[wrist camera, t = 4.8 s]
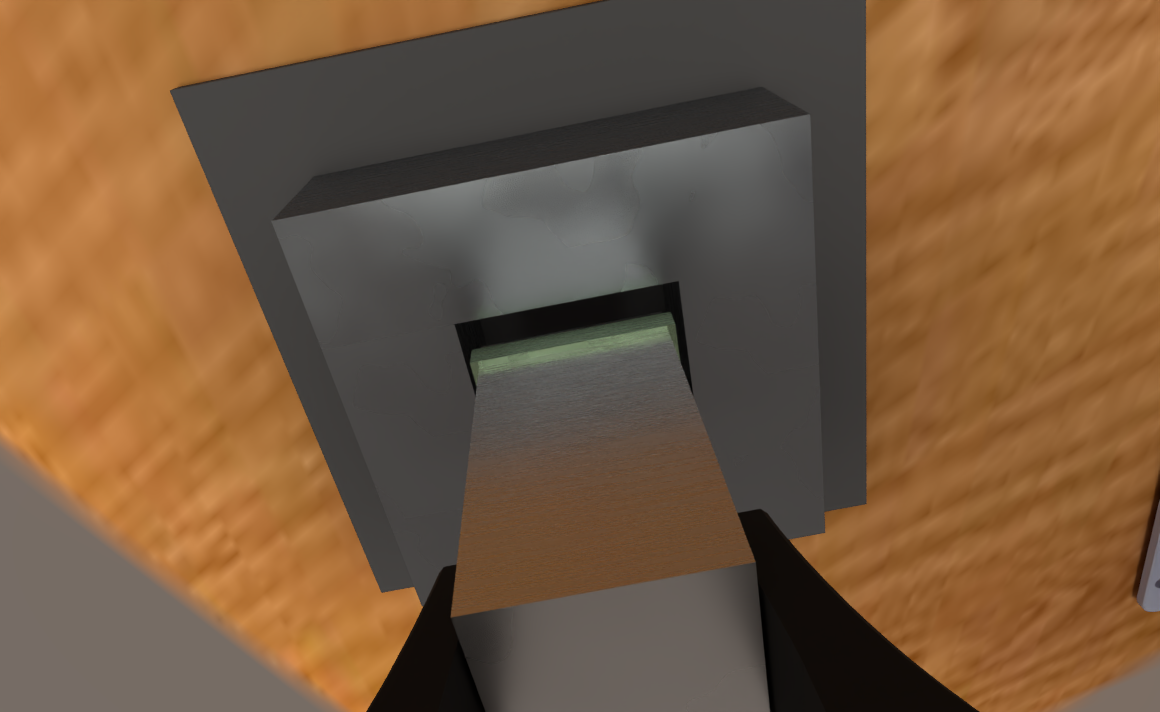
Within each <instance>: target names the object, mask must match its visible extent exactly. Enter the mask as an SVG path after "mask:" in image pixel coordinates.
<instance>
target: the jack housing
mask: <svg viewBox="0 0 1160 712" xmlns="http://www.w3.org/2000/svg"><path fill="white" fill-rule="evenodd" d="M271 222H272V224H273V227H274V229H275V232H276V235H277V237H278V240H279V242H280V245H281V247H282V250H283V252H284V255H285V258H286V260H287V263H288V265H289V268H290V270H291V273H292V275H293V278H294V281H295V283H296V286H297V288H298V291H299V293H300V296H301V298H302V301H303V303H304V306H305V309H306V311H307V314H308V316H309V319H310V321H311V324H312V326H313V329H314V332H315V334H316V337H317V339H318V342H319V344H320V347H321V349H322V352H323V355H324V357H325V360H326V362H327V365H328V367H329V370H330V372H331V375H332V378H333V380H334V383H335V385H336V388H337V390H338V393H339V395H340V398H341V401H342V403H343V406H344V408H345V411H346V413H347V416H348V418H349V421H350V424H351V426H352V429H353V431H354V434H355V436H356V439H357V441H358V444H359V446H360V449H361V452H362V454H363V457H364V459H365V462H366V464H367V467H368V469H369V472H370V475H371V477H372V480H373V482H374V485H375V487H376V490H377V492H378V495H379V498H380V500H381V503H382V505H383V508H384V510H385V513H386V515H387V518H388V521H389V523H390V526H391V528H392V531H393V533H394V536H395V538H396V541H397V544H398V546H399V549H400V551H401V554H402V556H403V559H404V561H405V564H406V566H407V569H408V572H409V574H410V577H411V579H412V582H413V584H414V587H415V589H416V592H417V595H418V597H419V600H420V602H421V605H422V606H424V604H425V602H426V600H427V598H428V596H429V594H430V592H431V589H432V587H433V585H434V583H435V581H436V579H437V576H438V574H439V572H440V571H441V570H442V569H443V567H445V566H450V565H456V564H457V557H458V548H459V539H460V530H461V522H462V513H463V504H464V495H465V486H466V477H467V468H468V460H469V451H470V442H471V433H472V424H473V415H474V406H475V398H476V389H477V386H476V382H475V379H474V375H473V372H472V369H471V365H470V359H471V352H472V350H474V349H479V348H481V346H484V345H487V343H486V340H485V336H484V332H483V329H482V325H481V321H480V319H483V318H489V317H494V316H499V315H504V314H509V313H515V312H520V311H525V310H530V309H535V308H540V307H546V306H551V305H556V304H561V303H566V302H572V301H577V300H582V299H587V298H592V297H597V296H603V295H608V294H613V293H618V292H623V291H628V290H634V289H639V288H644V287H649V286H654V285H660V284H662V285H663V292H664V299H665V307H666V312H671V315H672V317H673V320H674V322H675V327H676V334H677V341H678V349H679V356H680V363H681V365H682V368H683V371H684V373H685V376H686V379H687V381H688V384H689V387H690V389H691V392H692V395H693V397H694V400H695V402H696V405H697V408H698V410H699V413H700V416H701V418H702V421H703V424H704V426H705V429H706V432H707V434H708V437H709V440H710V442H711V445H712V448H713V450H714V453H715V456H716V458H717V461H718V463H719V466H720V469H721V471H722V474H723V477H724V479H725V482H726V485H727V487H728V490H729V493H730V495H731V498H732V501H733V503H734V506H735V509H736V511H737V513H740V512H745V511H750V510H756V509H762V510H763V511H765V512H767V513H768V514H769V516H770V517H771V518H772V520H773V521H774V522H775V524H776V525H777V526H778V527H779V529H780V530H781V531H782V532H783V534H784V535H785V536H786V537H787V539H793V538H799V537H804V536H810V535H815V534H821V533H825V517H824V489H823V461H822V433H821V405H820V376H819V348H818V320H817V292H816V264H815V236H814V207H813V179H812V151H811V123H810V114H809V113H808V112H806V111H804V110H802V109H800V108H799V107H797V106H795V105H793V104H792V103H790V102H788V101H786V100H785V99H783V98H781V97H779V96H778V95H776V94H774V93H772V92H771V91H769V90H767V89H765V88H764V87H757V88H752V89H747V90H742V91H737V92H732V93H727V94H722V95H717V96H712V97H707V98H702V99H697V100H692V101H687V102H682V103H677V104H672V105H667V106H662V107H657V108H652V109H647V110H642V111H637V112H632V113H627V114H622V115H617V116H612V117H607V118H602V119H597V120H592V121H587V122H582V123H577V124H572V125H567V126H562V127H557V128H552V129H547V130H542V131H537V132H532V133H527V134H522V135H517V136H512V137H507V138H502V139H497V140H492V141H487V142H482V143H477V144H472V145H467V146H462V147H457V148H452V149H447V150H442V151H437V152H432V153H427V154H422V155H417V156H412V157H407V158H402V159H397V160H392V161H387V162H382V163H377V164H372V165H367V166H362V167H357V168H352V169H347V170H342V171H337V172H332V173H327V174H322V175H317V176H313V178H312V179H311V180H310V181H309V182H308V183H307V184H306V185H305V186H304V187H303V188H302V189H301V190H300V191H299V192H298V193H297V194H296V196H295V197H294V198H293V199H292V200H291V201H290V202H289V203H288V204H287V205H286V206H285V207H284V208H283V209H282V210H281V211H280V212H279V213H278V215H277V216H276V217H275V218H274V219H273V220H272V221H271Z"/></svg>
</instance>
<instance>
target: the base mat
mask: <svg viewBox="0 0 1160 712" xmlns="http://www.w3.org/2000/svg"><path fill="white" fill-rule="evenodd" d="M757 87H764V88H765V89H767V90H769V91H771V92H772V93H774V94H776V95H778V96H779V97H781V98H783V99H785V100H786V101H788V102H790V103H792V104H793V105H795V106H797V107H799V108H800V109H802V110H804V111H806V112H808V113H809V114H810V123H811V151H812V179H813V207H814V236H815V264H816V292H817V320H818V348H819V376H820V405H821V433H822V461H823V489H824V512H825V511H831V510H836V509H842V508H847V507H852V506H858V505H863V504H866V0H602V1H597V2H592V3H587V4H582V5H578V6H573V7H568V8H563V9H558V10H553V11H548V12H543V13H539V14H534V15H529V16H524V17H519V18H514V19H509V20H504V21H499V22H495V23H490V24H485V25H480V26H475V27H470V28H465V29H460V30H456V31H451V32H446V33H441V34H436V35H431V36H426V37H421V38H416V39H412V40H407V41H402V42H397V43H392V44H387V45H382V46H377V47H373V48H368V49H363V50H358V51H353V52H348V53H343V54H338V55H333V56H329V57H324V58H319V59H314V60H309V61H304V62H299V63H294V64H290V65H285V66H280V67H275V68H270V69H265V70H260V71H255V72H250V73H246V74H241V75H236V76H231V77H226V78H221V79H216V80H211V81H207V82H202V83H197V84H192V85H187V86H182V87H178V88H175V89H173V90H170V93H171V95H172V97H173V100H174V102H175V104H176V107H177V109H178V111H179V114H180V116H181V119H182V121H183V123H184V126H185V128H186V130H187V133H188V135H189V138H190V140H191V142H192V145H193V147H194V149H195V152H196V154H197V156H198V159H199V161H200V164H201V166H202V168H203V171H204V173H205V175H206V178H207V180H208V183H209V185H210V187H211V190H212V192H213V194H214V197H215V199H216V202H217V204H218V206H219V209H220V211H221V213H222V216H223V218H224V220H225V223H226V225H227V228H228V230H229V232H230V235H231V237H232V239H233V242H234V244H235V247H236V249H237V251H238V254H239V256H240V258H241V261H242V263H243V265H244V268H245V270H246V273H247V275H248V277H249V280H250V282H251V284H252V287H253V289H254V292H255V294H256V296H257V299H258V301H259V303H260V306H261V308H262V310H263V313H264V315H265V318H266V320H267V322H268V325H269V327H270V329H271V332H272V334H273V337H274V339H275V341H276V344H277V346H278V348H279V351H280V353H281V355H282V358H283V360H284V363H285V365H286V367H287V370H288V372H289V374H290V377H291V379H292V382H293V384H294V386H295V389H296V391H297V393H298V396H299V398H300V401H301V403H302V405H303V408H304V410H305V412H306V415H307V417H308V419H309V422H310V424H311V427H312V429H313V431H314V434H315V436H316V438H317V441H318V443H319V446H320V448H321V450H322V453H323V455H324V457H325V460H326V462H327V464H328V467H329V469H330V472H331V474H332V476H333V479H334V481H335V483H336V486H337V488H338V491H339V493H340V495H341V498H342V500H343V502H344V505H345V507H346V509H347V512H348V514H349V517H350V519H351V521H352V524H353V526H354V528H355V531H356V533H357V536H358V538H359V540H360V543H361V545H362V547H363V550H364V552H365V554H366V557H367V559H368V562H369V564H370V566H371V569H372V571H373V573H374V576H375V578H376V581H377V583H378V585H379V588H380V590H381V592H382V593H383V592H388V591H393V590H399V589H404V588H410V587H414V584H413V582H412V579H411V577H410V574H409V572H408V569H407V566H406V564H405V561H404V559H403V556H402V554H401V551H400V549H399V546H398V544H397V541H396V538H395V536H394V533H393V531H392V528H391V526H390V523H389V521H388V518H387V515H386V513H385V510H384V508H383V505H382V503H381V500H380V498H379V495H378V492H377V490H376V487H375V485H374V482H373V480H372V477H371V475H370V472H369V469H368V467H367V464H366V462H365V459H364V457H363V454H362V452H361V449H360V446H359V444H358V441H357V439H356V436H355V434H354V431H353V429H352V426H351V424H350V421H349V418H348V416H347V413H346V411H345V408H344V406H343V403H342V401H341V398H340V395H339V393H338V390H337V388H336V385H335V383H334V380H333V378H332V375H331V372H330V370H329V367H328V365H327V362H326V360H325V357H324V355H323V352H322V349H321V347H320V344H319V342H318V339H317V337H316V334H315V332H314V329H313V326H312V324H311V321H310V319H309V316H308V314H307V311H306V309H305V306H304V303H303V301H302V298H301V296H300V293H299V291H298V288H297V286H296V283H295V281H294V278H293V275H292V273H291V270H290V268H289V265H288V263H287V260H286V258H285V255H284V252H283V250H282V247H281V245H280V242H279V240H278V237H277V235H276V232H275V229H274V227H273V224H272V222H271V221H272V220H273V219H274V218H275V217H276V216H277V215H278V213H279V212H280V211H281V210H282V209H283V208H284V207H285V206H286V205H287V204H288V203H289V202H290V201H291V200H292V199H293V198H294V197H295V196H296V194H297V193H298V192H299V191H300V190H301V189H302V188H303V187H304V186H305V185H306V184H307V183H308V182H309V181H310V180H311V179H312V178H313V176H317V175H322V174H327V173H332V172H337V171H342V170H347V169H352V168H357V167H362V166H367V165H372V164H377V163H382V162H387V161H392V160H397V159H402V158H407V157H412V156H417V155H422V154H427V153H432V152H437V151H442V150H447V149H452V148H457V147H462V146H467V145H472V144H477V143H482V142H487V141H492V140H497V139H502V138H507V137H512V136H517V135H522V134H527V133H532V132H537V131H542V130H547V129H552V128H557V127H562V126H567V125H572V124H577V123H582V122H587V121H592V120H597V119H602V118H607V117H612V116H617V115H622V114H627V113H632V112H637V111H642V110H647V109H652V108H657V107H662V106H667V105H672V104H677V103H682V102H687V101H692V100H697V99H702V98H707V97H712V96H717V95H722V94H727V93H732V92H737V91H742V90H747V89H752V88H757ZM656 312H662V313H666V307H665V299H664V292H663V285H662V284H660V285H654V286H649V287H644V288H639V289H634V290H628V291H623V292H618V293H613V294H608V295H603V296H597V297H592V298H587V299H582V300H577V301H572V302H566V303H561V304H556V305H551V306H546V307H540V308H535V309H530V310H525V311H520V312H515V313H509V314H504V315H499V316H494V317H489V318H483V319H480V321H481V325H482V329H483V332H484V336H485V340H486V343H487V345H490V344H495V343H500V342H505V341H510V340H516V339H521V338H526V337H531V336H536V335H542V334H547V333H552V332H557V331H562V330H568V329H573V328H578V327H583V326H588V325H594V324H599V323H604V322H609V321H614V320H620V319H625V318H630V317H635V316H640V315H646V314H651V313H656Z"/></svg>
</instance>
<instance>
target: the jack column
mask: <svg viewBox="0 0 1160 712" xmlns="http://www.w3.org/2000/svg"><path fill="white" fill-rule="evenodd" d="M470 365H471V369H472V372H473V375H474V379H475V382H476V386H477V389H476V398H475V406H474V415H473V424H472V433H471V442H470V451H469V460H468V468H467V477H466V486H465V495H464V504H463V513H462V522H461V530H460V539H459V548H458V557H457V566H456V575H455V584H454V592H453V601H452V610H451V620H452V622H453V625H454V628H455V631H456V633H457V636H458V639H459V641H460V644H461V647H462V649H463V652H464V655H465V658H466V660H467V663H468V666H469V668H470V671H471V674H472V676H473V679H474V682H475V685H476V687H477V690H478V693H479V695H480V698H481V701H482V703H483V706H484V709H485V712H770V707H769V697H768V686H767V676H766V665H765V655H764V644H763V634H762V623H761V613H760V602H759V592H758V581H757V571H756V562H755V559H754V556H753V554H752V551H751V548H750V546H749V543H748V540H747V538H746V535H745V532H744V530H743V527H742V524H741V522H740V519H739V517H738V514H737V511H736V509H735V506H734V503H733V501H732V498H731V495H730V493H729V490H728V487H727V485H726V482H725V479H724V477H723V474H722V471H721V469H720V466H719V463H718V461H717V458H716V456H715V453H714V450H713V448H712V445H711V442H710V440H709V437H708V434H707V432H706V429H705V426H704V424H703V421H702V418H701V416H700V413H699V410H698V408H697V405H696V402H695V400H694V397H693V395H692V392H691V389H690V387H689V384H688V381H687V379H686V376H685V373H684V371H683V368H682V365H681V363H680V356H679V349H678V341H677V334H676V327H675V322H674V320H673V317H672V315H671V312H666V313H662V312H656V313H651V314H646V315H640V316H635V317H630V318H625V319H620V320H614V321H609V322H604V323H599V324H594V325H588V326H583V327H578V328H573V329H568V330H562V331H557V332H552V333H547V334H542V335H536V336H531V337H526V338H521V339H516V340H510V341H505V342H500V343H495V344H490V345H484V346H481V348H479V349H474V350H472V352H471V359H470Z"/></svg>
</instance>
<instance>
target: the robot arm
mask: <svg viewBox="0 0 1160 712" xmlns="http://www.w3.org/2000/svg"><path fill="white" fill-rule="evenodd" d="M737 514H738V517H739V519H740V522H741V524H742V527H743V530H744V532H745V535H746V538H747V540H748V543H749V546H750V548H751V551H752V554H753V556H754V559H755V562H756V571H757V581H758V592H759V602H760V613H761V623H762V634H763V644H764V655H765V665H766V676H767V686H768V697H769V707H770V712H979V711H978V710H976V709H975V708H973V707H972V706H971V705H969V704H968V703H967V702H965V701H964V700H963V699H961V698H960V697H959V696H957V695H956V694H954V693H953V692H952V691H950V690H949V689H948V688H946V687H945V686H944V685H942V684H941V683H940V682H939V681H937V680H936V679H935V678H933V677H932V676H931V675H930V674H928V673H927V672H926V671H925V670H923V669H922V668H921V667H919V666H918V665H917V664H916V663H914V662H913V661H912V660H911V659H910V658H908V657H907V656H906V655H905V654H904V653H902V652H901V651H900V650H899V649H898V648H897V647H895V646H894V645H893V644H892V643H891V642H890V641H888V640H887V639H886V638H885V637H884V636H883V635H882V634H881V633H880V632H878V631H877V630H876V629H875V628H874V627H873V626H872V625H871V624H870V623H868V622H867V621H866V620H865V619H864V618H863V617H862V616H861V615H860V614H859V613H858V612H857V611H856V610H855V609H854V608H852V607H851V606H850V605H849V604H848V603H847V602H846V601H845V600H844V599H843V598H842V597H841V596H840V595H839V594H838V593H837V592H836V591H835V590H834V589H833V588H832V587H831V586H830V585H829V584H828V583H827V582H826V581H825V580H824V579H823V577H822V576H821V575H820V574H819V573H818V572H817V571H816V570H815V569H814V568H813V567H812V566H811V565H810V564H809V562H808V561H807V560H806V559H805V558H804V557H803V556H802V555H801V554H800V552H799V551H798V550H797V549H796V548H795V547H794V546H793V544H792V543H791V542H790V541H789V540H788V539H787V537H786V536H785V535H784V534H783V532H782V531H781V530H780V529H779V527H778V526H777V525H776V524H775V522H774V521H773V520H772V518H771V517H770V516H769V514H768V513H767V512H765V511H763V510H762V509H756V510H750V511H745V512H740V513H737ZM456 566H457V564H456V565H450V566H445V567H443V569H442V570H441V571H440V572H439V574H438V576H437V579H436V581H435V583H434V585H433V587H432V589H431V592H430V594H429V596H428V598H427V600H426V602H425V604H424V606H423V608H422V611H421V613H420V615H419V617H418V619H417V621H416V623H415V625H414V627H413V629H412V631H411V633H410V635H409V637H408V639H407V640H406V642H405V644H404V646H403V648H402V650H401V652H400V653H399V655H398V657H397V659H396V661H395V663H394V665H393V666H392V668H391V670H390V672H389V674H388V676H387V678H386V679H385V681H384V683H383V685H382V686H381V688H380V690H379V691H378V693H377V695H376V696H375V698H374V700H373V701H372V703H371V705H370V706H369V708H368V710H367V711H366V712H485V709H484V706H483V703H482V701H481V698H480V695H479V693H478V690H477V687H476V685H475V682H474V679H473V676H472V674H471V671H470V668H469V666H468V663H467V660H466V658H465V655H464V652H463V649H462V647H461V644H460V641H459V639H458V636H457V633H456V631H455V628H454V625H453V622H452V620H451V610H452V601H453V592H454V584H455V575H456ZM1137 602H1138V603H1139V605H1140V606H1141V607H1142V608H1143V609H1144V610H1145V611H1148V612H1156V611H1160V500H1159V505H1158V509H1157V513H1156V518H1155V522H1154V526H1153V530H1152V535H1151V539H1150V543H1149V547H1148V552H1147V556H1146V560H1145V565H1144V569H1143V573H1142V577H1141V582H1140V586H1139V590H1138V594H1137Z"/></svg>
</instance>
